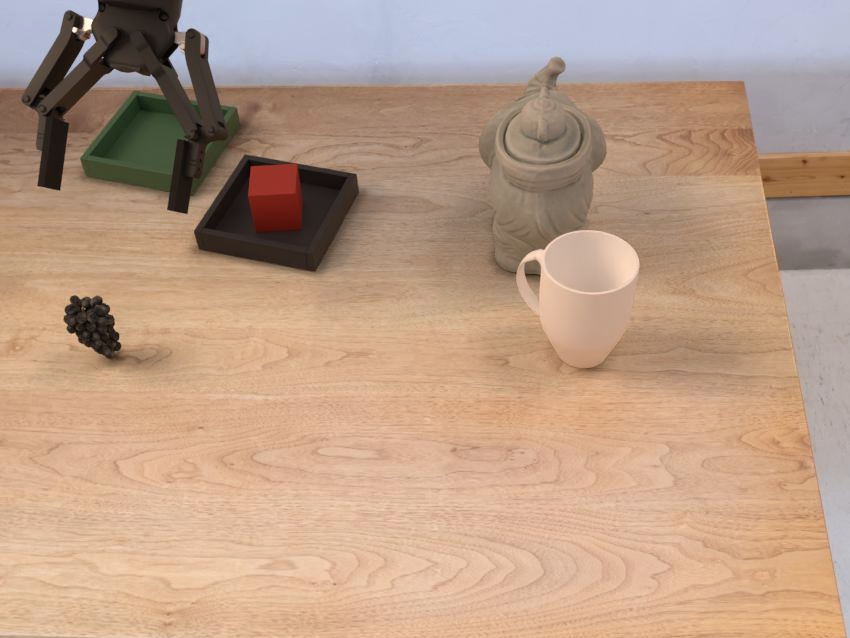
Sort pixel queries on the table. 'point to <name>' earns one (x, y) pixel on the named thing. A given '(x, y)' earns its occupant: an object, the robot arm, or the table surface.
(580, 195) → the lidded stone jar
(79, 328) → the fruit
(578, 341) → the mug
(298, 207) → the red block
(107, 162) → the green tray
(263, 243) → the black tray
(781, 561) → the table surface
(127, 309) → the table surface
